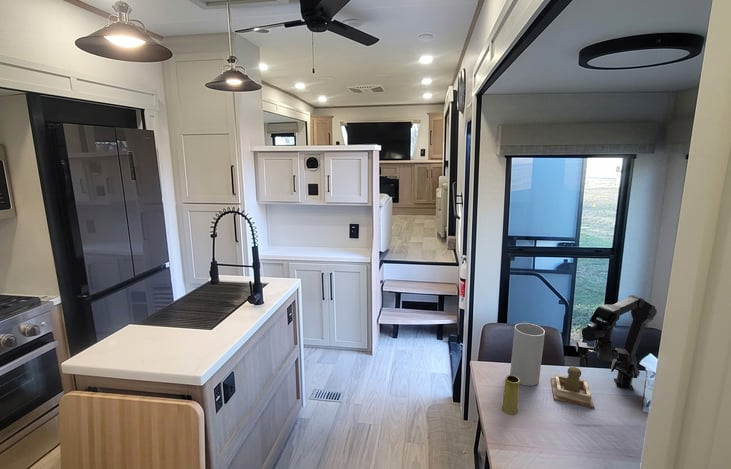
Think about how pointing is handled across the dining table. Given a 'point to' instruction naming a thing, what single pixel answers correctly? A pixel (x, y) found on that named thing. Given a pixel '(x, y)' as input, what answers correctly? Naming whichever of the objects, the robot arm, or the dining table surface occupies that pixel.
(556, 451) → the dining table surface
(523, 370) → the cylinder vase
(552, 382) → the socket block
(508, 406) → the vase
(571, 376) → the cork
